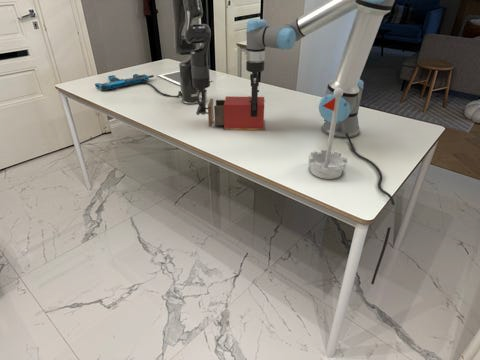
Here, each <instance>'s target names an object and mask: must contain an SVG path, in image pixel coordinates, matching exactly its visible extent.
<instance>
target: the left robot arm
mask: <svg viewBox="0 0 480 360" xmlns="http://www.w3.org/2000/svg"><path fill="white" fill-rule="evenodd" d="M171 10H172V11H171V12H172V19H173V47H174V48H173V49H174V52H175V54H176V55H177V56H188V57H187V58H186V59H184V60H182V61H180V62H179V64H178V68H179V71H180V78H181V83H180V86H179V87H180V90H179V91H178V94H177V95H170V94H167V93H164V92H161V91H160V90H158V89H157V87H155V86H154V85H153V84H151V83H150V82H147V81H146V82H139V84H145V85H148V86H150V87H151V88H153V89H154V90H155V92H157V93H158V94H160V95H162V96H166V97H169V98H179V97H181V102H182V103H183V104H186V105H195V104H197V105H198V107H200V109H201V112H207V109H206V108H207V102H208V101H207V99H208V96H207V94H208V90H207V89H208V88H209V87H211V81H210V80H211V79H210V78H211V77H210V67H209V47H210V43H211V37H212V31H211V28H210V26H209V25H208V24H206V23H197V24H193V22H194V21H197V20H200V19H201V18H202V17H203V15H204V11H203V5H202V0H171ZM183 30H184V32H183ZM183 33H184V34H183ZM198 44H200V46H199V47H198ZM202 115H203V116H205V115H206V114H201V116H202Z"/></svg>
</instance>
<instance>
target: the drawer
mask: <svg viewBox="0 0 480 360" xmlns="http://www.w3.org/2000/svg"><path fill="white" fill-rule="evenodd" d="M224 102H225V99H216V100H215V105H214V98H210V99H209V102H208V105H207V107H206V110H207V111H206V112H201V109H200V107H199V106H198V107H197V110H196V112H195V114H196V115H197V116H199V115H202V114H205V115H207V117H208V127H213V124H214V126H224Z"/></svg>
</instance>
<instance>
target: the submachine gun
mask: <svg viewBox="0 0 480 360" xmlns="http://www.w3.org/2000/svg"><path fill="white" fill-rule="evenodd" d="M107 77H108V80H109V82H103V83H100V82H96V83H94V86H95V88H97V89H98V90H100V91H107V90H113V91H114V90H115V89H116V88H120V87H125V86H129V85H134V84H138V83H139V84H140V82H146V83H147V81H148V80H150V79H151V78H154V77H155V76H154V74H151V75H147V74H138V73H134V74H133V75H132V77H129V78H121V79H120V78H118V77H117V76H116V75H113V74H112V75H108V76H107Z"/></svg>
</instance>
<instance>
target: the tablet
mask: <svg viewBox="0 0 480 360" xmlns="http://www.w3.org/2000/svg"><path fill="white" fill-rule="evenodd" d="M157 77H159V78H161V79H164V80H166V81H168V82H170V83H173V84H175V85H177V86H179V87H181V86H180V83H181V78H180V70H176V71H172V72H167V73H163V74H158V75H157ZM212 81H213V80H212V79H210V82H212Z"/></svg>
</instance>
